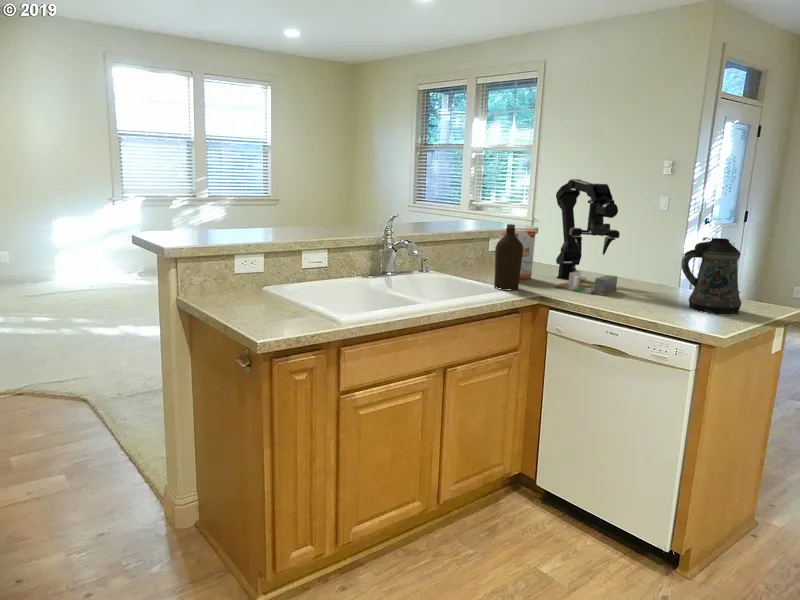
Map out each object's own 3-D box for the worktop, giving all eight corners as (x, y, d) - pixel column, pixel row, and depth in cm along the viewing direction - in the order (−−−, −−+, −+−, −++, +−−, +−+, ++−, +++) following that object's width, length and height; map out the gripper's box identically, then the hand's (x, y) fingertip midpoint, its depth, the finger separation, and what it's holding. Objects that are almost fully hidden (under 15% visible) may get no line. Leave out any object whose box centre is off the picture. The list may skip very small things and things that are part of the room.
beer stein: (750, 315, 207) (763, 242, 202) (701, 315, 203) (712, 241, 198) (717, 304, 223) (727, 236, 218) (670, 304, 219) (679, 235, 214)
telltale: (572, 286, 239) (573, 276, 238) (574, 286, 240) (575, 276, 240) (576, 287, 238) (577, 277, 237) (578, 286, 239) (579, 276, 239)
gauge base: (553, 288, 243) (554, 282, 243) (569, 283, 254) (570, 278, 254) (601, 296, 230) (602, 290, 230) (616, 291, 241) (617, 286, 241)
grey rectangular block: (593, 291, 234) (595, 278, 233) (606, 287, 243) (607, 275, 242) (603, 292, 231) (605, 279, 230) (616, 288, 240) (617, 276, 239)
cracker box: (502, 279, 257) (506, 230, 253) (496, 277, 263) (499, 229, 258) (532, 279, 261) (536, 230, 257) (525, 276, 267) (529, 229, 262)
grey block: (566, 285, 241) (567, 273, 240) (577, 282, 249) (578, 270, 248) (578, 287, 238) (579, 274, 237) (589, 284, 245) (590, 272, 244)
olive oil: (507, 292, 231) (512, 226, 226) (487, 287, 239) (491, 223, 234) (525, 289, 238) (530, 225, 233) (504, 284, 246) (509, 223, 241)
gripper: (575, 216, 236) (571, 255, 240) (625, 218, 234) (620, 258, 238) (571, 213, 247) (567, 251, 250) (618, 215, 245) (613, 254, 249)
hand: (591, 254), depth 247 cm, fingers open, 9 cm apart
